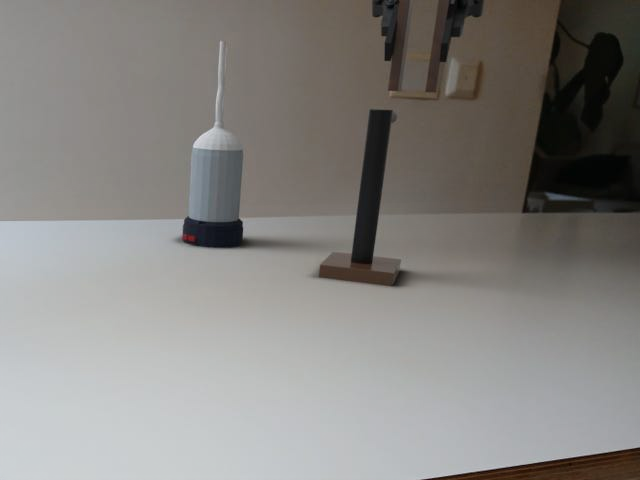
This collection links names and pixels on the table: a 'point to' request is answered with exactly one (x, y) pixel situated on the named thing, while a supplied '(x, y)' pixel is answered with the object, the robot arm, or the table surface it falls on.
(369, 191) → the post on base
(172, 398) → the table surface
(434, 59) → the wooden arch frame
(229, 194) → the humidifier
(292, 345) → the table surface
